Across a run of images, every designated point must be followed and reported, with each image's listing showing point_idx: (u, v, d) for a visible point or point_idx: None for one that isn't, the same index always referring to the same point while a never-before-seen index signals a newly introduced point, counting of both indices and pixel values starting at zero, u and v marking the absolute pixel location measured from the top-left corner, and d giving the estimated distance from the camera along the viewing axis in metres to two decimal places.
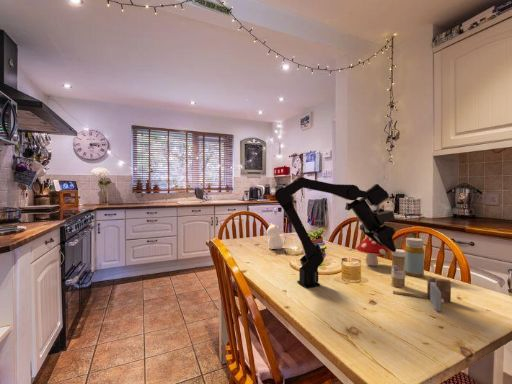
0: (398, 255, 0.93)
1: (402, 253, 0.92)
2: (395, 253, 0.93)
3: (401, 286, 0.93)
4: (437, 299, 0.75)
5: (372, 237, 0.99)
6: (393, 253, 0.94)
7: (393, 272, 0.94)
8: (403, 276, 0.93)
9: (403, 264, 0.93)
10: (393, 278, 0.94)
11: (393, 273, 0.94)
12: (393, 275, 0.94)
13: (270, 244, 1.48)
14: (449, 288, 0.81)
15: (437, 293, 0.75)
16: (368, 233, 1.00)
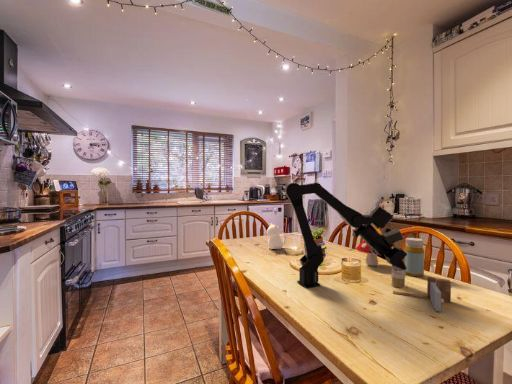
0: None
1: None
2: None
3: (401, 286, 0.93)
4: (437, 299, 0.75)
5: None
6: None
7: (393, 272, 0.94)
8: (403, 276, 0.93)
9: None
10: (393, 278, 0.94)
11: (393, 273, 0.94)
12: (393, 275, 0.94)
13: (270, 244, 1.48)
14: (449, 288, 0.81)
15: (437, 293, 0.75)
16: (382, 255, 0.98)
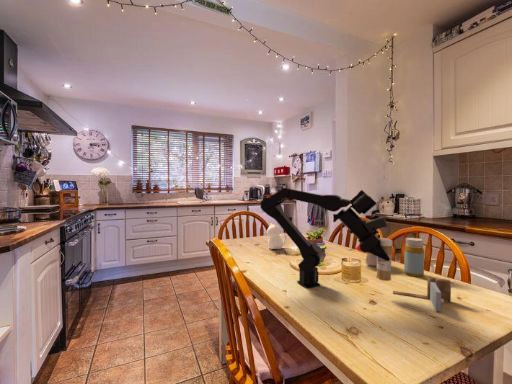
0: (381, 244, 0.84)
1: (385, 242, 0.83)
2: None
3: (384, 279, 0.83)
4: (437, 299, 0.75)
5: None
6: None
7: (377, 263, 0.86)
8: (387, 268, 0.83)
9: None
10: (377, 270, 0.86)
11: (377, 264, 0.86)
12: (377, 266, 0.86)
13: (270, 244, 1.48)
14: (449, 288, 0.81)
15: (437, 293, 0.75)
16: None
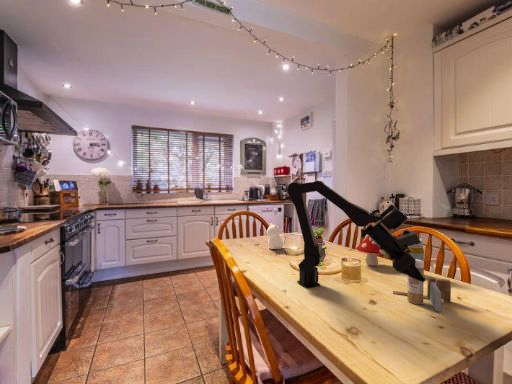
0: None
1: (417, 264, 0.79)
2: None
3: (417, 302, 0.80)
4: (437, 299, 0.75)
5: None
6: None
7: (408, 285, 0.82)
8: (419, 291, 0.79)
9: None
10: (408, 292, 0.82)
11: (408, 286, 0.82)
12: (408, 288, 0.82)
13: (270, 244, 1.48)
14: (449, 288, 0.81)
15: (437, 293, 0.75)
16: None
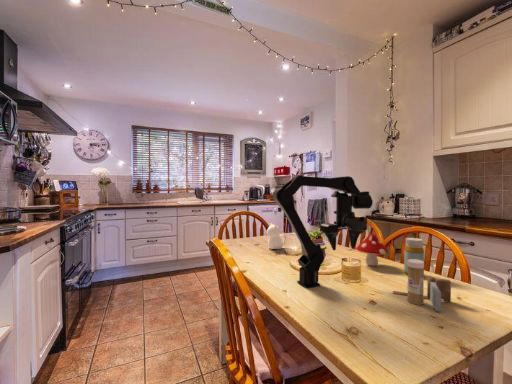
0: (412, 266, 0.80)
1: (417, 264, 0.79)
2: (409, 263, 0.81)
3: (417, 303, 0.80)
4: (437, 299, 0.75)
5: (350, 235, 1.02)
6: (408, 263, 0.82)
7: (408, 285, 0.82)
8: (419, 291, 0.79)
9: (419, 277, 0.79)
10: (408, 293, 0.82)
11: (408, 286, 0.82)
12: (408, 289, 0.82)
13: (270, 244, 1.48)
14: (449, 288, 0.81)
15: (437, 293, 0.75)
16: (350, 230, 1.02)
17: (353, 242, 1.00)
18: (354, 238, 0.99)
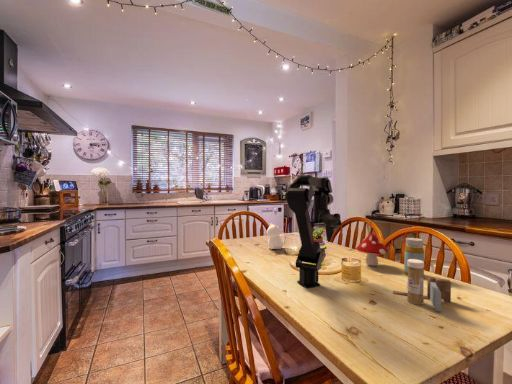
0: (412, 266, 0.80)
1: (417, 264, 0.79)
2: (409, 263, 0.81)
3: (417, 302, 0.80)
4: (437, 299, 0.75)
5: (326, 230, 1.12)
6: (408, 263, 0.82)
7: (408, 285, 0.82)
8: (419, 291, 0.79)
9: (419, 277, 0.79)
10: (408, 293, 0.82)
11: (408, 286, 0.82)
12: (408, 289, 0.82)
13: (270, 244, 1.48)
14: (449, 288, 0.81)
15: (437, 293, 0.75)
16: (326, 225, 1.12)
17: (329, 237, 1.10)
18: (330, 233, 1.10)
